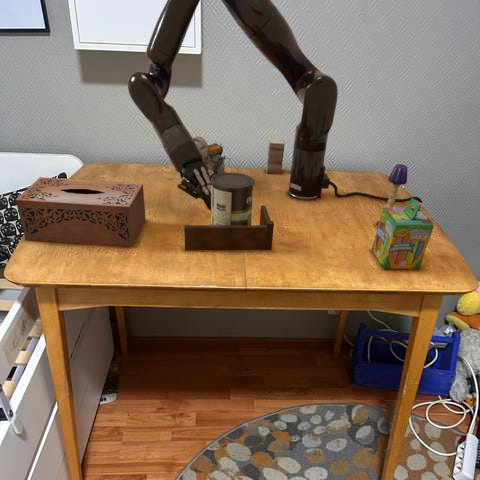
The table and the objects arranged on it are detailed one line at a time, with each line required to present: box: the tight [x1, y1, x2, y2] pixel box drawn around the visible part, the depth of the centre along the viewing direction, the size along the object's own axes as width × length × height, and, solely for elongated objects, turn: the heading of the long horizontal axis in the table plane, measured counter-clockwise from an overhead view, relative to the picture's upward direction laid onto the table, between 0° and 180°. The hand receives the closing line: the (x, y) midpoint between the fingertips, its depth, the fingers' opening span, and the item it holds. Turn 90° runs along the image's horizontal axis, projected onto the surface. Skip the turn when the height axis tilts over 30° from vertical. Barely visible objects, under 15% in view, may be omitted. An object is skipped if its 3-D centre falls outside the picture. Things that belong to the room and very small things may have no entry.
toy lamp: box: [376, 163, 408, 228], centre depth 122 cm, size 5×5×17 cm
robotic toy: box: [191, 135, 232, 187], centre depth 141 cm, size 13×17×15 cm
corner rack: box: [183, 204, 275, 252], centre depth 115 cm, size 21×13×7 cm, turn 96°
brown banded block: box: [265, 138, 286, 175], centre depth 154 cm, size 5×4×10 cm
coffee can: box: [210, 172, 255, 225], centre depth 115 cm, size 10×10×14 cm
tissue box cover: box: [15, 176, 147, 248], centre depth 114 cm, size 26×14×10 cm, turn 88°
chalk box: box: [371, 198, 435, 270], centre depth 107 cm, size 9×9×15 cm
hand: (215, 209), depth 118 cm, fingers closed
